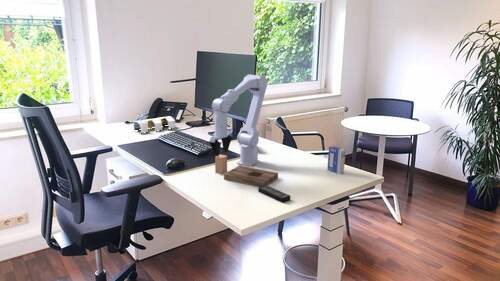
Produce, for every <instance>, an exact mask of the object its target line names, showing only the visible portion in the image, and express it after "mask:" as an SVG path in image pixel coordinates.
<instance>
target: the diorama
mask: <svg viewBox="0 0 500 281" xmlns="http://www.w3.org/2000/svg"><path fill="white" fill-rule="evenodd" d="M146 118H147V115H145V113H143V114H141V115H140V117H139V120H135V121H134V122H133V124H132V125H133V131H134V130H139V129H141V131H140V133H144V132H149V130H148V128H152V127H155V129H154V131H157V130H161V131H162V130H163V127H162V126H165V125H169V127H167V130H168V129H169V128H176V120H175V118H173V116H170V115H169V116H168V115H167V116H162V117H156V118H147V119H146ZM169 130H170V129H169ZM157 132H158V131H157Z"/></svg>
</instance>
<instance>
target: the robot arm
mask: <svg viewBox="0 0 500 281" xmlns="http://www.w3.org/2000/svg"><path fill="white" fill-rule="evenodd" d="M268 83H269V82H268V80H267V78H266V76H265V75H256V74H249V73H248V74H246V75H245V76H244V77H243V80H242V81H241V82H240V83H239V84H238V85H237V86H236V87H235V88H231V89H227V92H225V93H224V94H223V95H221V96H220V97H219V98H215V99H214V100H212V104H211V105H210V106H211V109H212V110H213V114H214V133H212V136H210V140H209V141H208V144H209V145H210V146H211V149H212V152H213V155H214V157H215V156H219V155H220V149H221V144H222V151H223V152H225V153H228V151H229V149H230V145H231V142H232V140H233V136H232V131H229V130H228V112H229V111H230V110H231V107H232V105H233V104H234V103H236V102H237V101H238V100H239V96H240V95H241V94H244V92H245V91H247V90H249V91H250V92H251V94H252V98H251V103H250V105H249V111H248V114H247V118H246V120H245V121H246V122H245V125H244V126H243V127H241V128H240V129H239V130H240V131H239V133H238V134H237V137H236V141H237V143H238V144H239V146H240V149H239V150H240V158H239V159H240V160H239V161H237V162H236V164H238V165H241V166H246V167H252V166H254V165H255V164H257V163H259V162H260V160H259V159H258V158H259V149H258V143H259V142H260V141H259V140H260V139H259V138H260V137H259V136H260V132H259V131H258V130H257V125H258V122H259V118H260V113H261V109H262V106H263V103H264V102H263V101H264V99H265V94H266V90H267V86H268ZM219 140H221V141H219ZM256 145H257V146H256Z"/></svg>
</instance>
